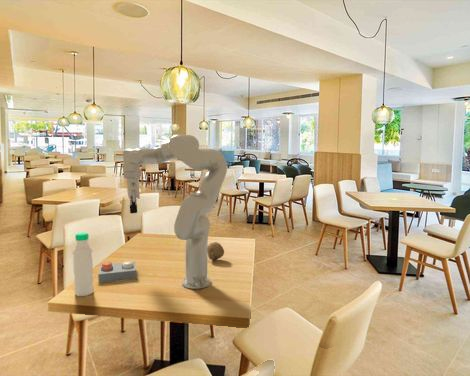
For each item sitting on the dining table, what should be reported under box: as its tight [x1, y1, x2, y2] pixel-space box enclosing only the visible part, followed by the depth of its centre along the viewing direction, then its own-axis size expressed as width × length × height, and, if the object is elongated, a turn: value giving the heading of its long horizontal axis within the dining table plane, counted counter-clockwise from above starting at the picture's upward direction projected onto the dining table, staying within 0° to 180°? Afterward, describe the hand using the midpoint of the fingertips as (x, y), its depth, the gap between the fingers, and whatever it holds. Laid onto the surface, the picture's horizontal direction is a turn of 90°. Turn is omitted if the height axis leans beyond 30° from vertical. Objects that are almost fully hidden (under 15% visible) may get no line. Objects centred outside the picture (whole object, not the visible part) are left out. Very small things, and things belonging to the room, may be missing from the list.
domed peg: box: [122, 261, 133, 269], centre depth 156 cm, size 4×4×4 cm
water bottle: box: [72, 232, 94, 297], centre depth 135 cm, size 7×7×25 cm
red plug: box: [101, 261, 113, 271], centre depth 153 cm, size 4×4×4 cm
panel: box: [97, 261, 137, 284], centre depth 155 cm, size 12×16×4 cm
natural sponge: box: [207, 241, 225, 262], centre depth 177 cm, size 9×9×10 cm
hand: (133, 212), depth 161 cm, fingers closed
